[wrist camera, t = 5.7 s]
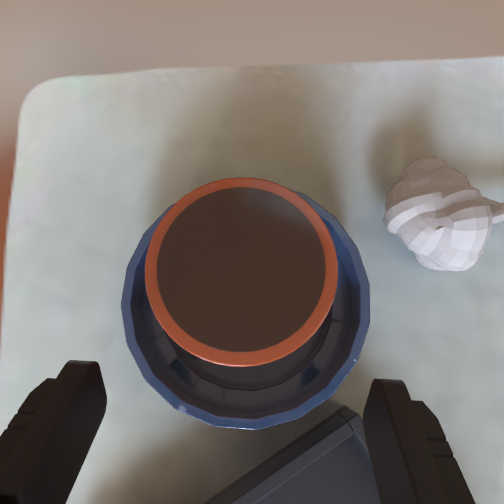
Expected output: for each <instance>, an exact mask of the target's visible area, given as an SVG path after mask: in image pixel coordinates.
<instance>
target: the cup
mask: <svg viewBox="0 0 504 504" xmlns="http://www.w3.org/2000/svg"><path fill="white" fill-rule="evenodd" d="M337 281H338V261H337V255H336V250H335V246H334V243H333V240H332V237H331V235H330V233H329V231H328V228H327V227H326V225H325V223H324V222H323V220H322V219H321V217H320V216H319V215H318V214H317V212H316V211H315V210H314V209H313V208H312V207H311V206H310V205H309V204H308V203H307V202H306V201H305V200H304V199H302V198H301V197H300V196H298V195H297V194H296V193H294V192H292V191H291V190H289V189H287V188H285V187H283V186H280V185H278V184H276V183H273V182H269V181H266V180H262V179H255V178H229V179H223V180H219V181H215V182H212V183H209V184H206V185H203V186H201V187H199V188H197V189H195V190H193V191H192V192H190V193H189V194H187V195H186V196H184V197H183V198H182V199H180V200H179V201H178V202H177V203H176V204H174V206H173V207H172V208H171V209H170V210H169V211H168V212H167V213H166V214H165V216H164V217H163V218H162V220H161V221H160V223H159V224H158V226H157V228H156V230H155V232H154V233H153V236H152V239H151V241H150V244H149V247H148V251H147V255H146V262H145V285H146V291H147V296H148V299H149V302H150V306H151V308H152V310H153V312H154V315H155V317H156V319H157V320H158V322H159V323H160V325H161V326H162V328H163V329H164V330H165V332H166V333H167V334H168V335H169V336H170V337H171V339H173V340H174V341H175V342H176V343H177V344H178V345H179V346H180V347H182V348H183V349H185V350H186V351H188V352H189V353H191V354H192V355H194V356H196V357H199V358H201V359H203V360H205V361H208V362H211V363H214V364H218V365H224V366H229V367H250V366H258V365H262V364H267V363H271V362H273V361H276V360H278V359H281V358H283V357H285V356H287V355H289V354H290V353H292V352H294V351H295V350H297V349H298V348H299V347H301V346H302V345H303V344H305V343H306V342H307V341H308V340H309V339H310V338H311V337H312V336H313V335H314V334H315V333H316V331H317V330H318V329H319V327H320V326H321V325H322V323H323V322H324V320H325V318H326V316H327V315H328V313H329V311H330V308H331V306H332V303H333V301H334V297H335V293H336V289H337Z"/></svg>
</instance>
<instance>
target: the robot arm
mask: <svg viewBox="0 0 504 504" xmlns="http://www.w3.org/2000/svg"><path fill="white" fill-rule="evenodd" d="M106 405H107V395H106V391H105V387H104V382H103V378H102V374H101V370H100V366H99V364H98V362H96V361H78V360H70V361H68V362H67V363H66V364H65V365H64V367H63V369H62V370H61V372H60V373H59V375H58V376H57V378H56V379H53V378H47V379H46V380H45V381H44V382H42V383H41V384H40V385H39V386H38V387H36V388H35V389H34V390H33V391H32V392H31V393H30V394H29V395H28V397H27V398H26V400H25V401H24V402H23V404H22V405H21V407H20V408H19V410H18V413H17V414H15V416H14V417H13V419H12V420H11V422H10V423H9V425H8V428H7V429H5V430H4V432H3V433H2V435H1V436H0V504H65V503H66V501H67V499H68V497H69V494H70V492H71V490H72V488H73V485H74V483H75V481H76V478H77V476H78V474H79V472H80V469H81V467H82V465H83V463H84V460H85V458H86V456H87V454H88V451H89V449H90V447H91V444H92V442H93V440H94V438H95V435H96V433H97V431H98V429H99V426H100V424H101V422H102V419H103V417H104V414H105V411H106ZM363 429H364V435H365V439H366V443H367V448H368V452H369V456H370V460H371V464H372V468H373V472H374V477H375V481H376V485H377V489H378V493H379V497H380V502H381V504H475V502H474V500H473V497H472V495H471V493H470V491H469V488H468V486H467V484H466V482H465V479H464V477H463V475H462V473H461V470H460V468H459V466H458V464H457V461H456V459H455V458H454V457H453V452H452V450H451V448H450V446H449V443H448V442H447V441H446V437H445V434H444V432H443V430H442V428H441V425H440V423H439V421H438V419H437V417H436V416H435V415H434V414H433V413H432V412H431V410H430V409H429V408H428V407H427V406H426V405H425V404H424V402H423V401H413V400H411V398H410V395H409V393H408V390H407V388H406V385H405V384H404V382H403V381H402V380H393V379H376V378H375V379H374V380H373V382H372V385H371V388H370V392H369V395H368V399H367V402H366V405H365V409H364V413H363Z"/></svg>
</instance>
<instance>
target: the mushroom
mask: <svg viewBox="0 0 504 504" xmlns="http://www.w3.org/2000/svg"><path fill="white" fill-rule="evenodd" d="M503 220H504V203H499V202H496V201H492V200H490V199H488V198H485V197H483V196H481V193H480V190H478V189H476V188H474V187H472V186H470V184H469V182H468V179H467V177H466V176H464V175H463V174H461V173H460V172H458V171H457V170H455V169H452V168H449V167H448V165H447V163H446V162H445V161H443V160H440V159H438V158H435V157H428V158H421V159H417V160H415V161H414V162H413V163H411V164H410V165H408V166H407V167H406V168H405V169H404V171H403V175H402V179H401V181H400V182H399V183H397V184H396V185H395V186H394V187H393V188H392V189H391V190H390V191H389V192H388V195H387V199H386V211H385V214H384V217H383V221H384V223H385V225H386V227H387V229H388V231H389V232H391V233H394V234H397V235H398V236H399V237H400V238H401V240H402V241H403V243H404V244H405V246H406V247H407V249H409V250H411V251H413V252H414V255H415V257H416V260H417V261H418V262H420V263H421V264H422V265H423V266H425V267H426V268H430V269H434V270H440V271H443V270H451V271H465V270H467V269H469V268H470V267H472V266H473V265H474V264H475V263H476V262H477V261H478V260H479V259H480V258H481V257H482V255H483V251H484V247H485V245H486V243H487V241H488V239H489V237H490V234H491V231H492V227H493V224H496V223H498V222H501V221H503Z"/></svg>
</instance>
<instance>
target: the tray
mask: <svg viewBox="0 0 504 504" xmlns="http://www.w3.org/2000/svg"><path fill="white" fill-rule="evenodd" d="M204 504H381V502H380V497H379V493H378V489H377V485H376V481H375V477H374V472H373V468H372V464H371V460H370V456H369V452H368V448H367V443H366V439H365V435H364V429H363V420H362V419H361V417H360V416H359V414H357V413H356V412H354V411H353V410H351V409H349V408H348V407H346V406H344V407H342V408H341V409H340V410H338V411H337V412H335V413H334V414H332V415H331V416H329V417H328V418H327V419H325V420H324V421H322V422H321V423H319V424H318V425H316V426H315V427H314V428H312V429H311V430H309V431H308V432H306V433H305V434H303V435H302V436H301V437H299V438H298V439H296V440H295V441H293V442H292V443H290V444H289V445H288V446H286V447H285V448H283V449H282V450H280V451H279V452H277V453H276V454H275V455H273V456H272V457H270V458H269V459H267V460H266V461H264V462H263V463H262V464H260V465H259V466H257V467H256V468H254V469H253V470H251V471H250V472H249V473H247V474H246V475H244V476H243V477H241V478H240V479H238V480H237V481H236V482H234V483H233V484H231V485H230V486H228V487H227V488H225V489H224V490H223V491H221V492H220V493H218V494H217V495H215V496H214V497H212V498H211V499H210V500H208V501H207V502H205V503H204Z"/></svg>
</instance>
